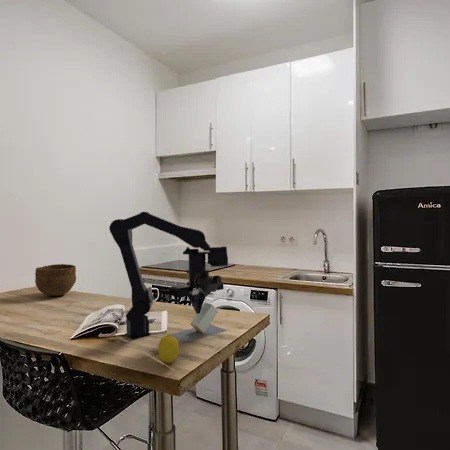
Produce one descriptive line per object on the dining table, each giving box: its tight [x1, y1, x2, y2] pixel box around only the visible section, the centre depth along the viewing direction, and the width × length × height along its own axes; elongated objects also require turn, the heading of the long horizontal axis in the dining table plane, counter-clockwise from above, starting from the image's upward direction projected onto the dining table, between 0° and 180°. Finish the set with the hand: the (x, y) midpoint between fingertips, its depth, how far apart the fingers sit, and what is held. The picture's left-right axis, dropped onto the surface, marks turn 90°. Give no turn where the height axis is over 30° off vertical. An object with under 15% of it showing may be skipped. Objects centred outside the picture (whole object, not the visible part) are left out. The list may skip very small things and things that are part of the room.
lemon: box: [157, 333, 180, 365], centre depth 93 cm, size 6×6×8 cm
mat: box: [169, 323, 228, 344], centre depth 117 cm, size 17×10×1 cm, turn 131°
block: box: [189, 302, 219, 334], centre depth 118 cm, size 4×4×9 cm
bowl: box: [34, 263, 77, 297], centre depth 175 cm, size 19×19×15 cm
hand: (197, 313), depth 116 cm, fingers closed
